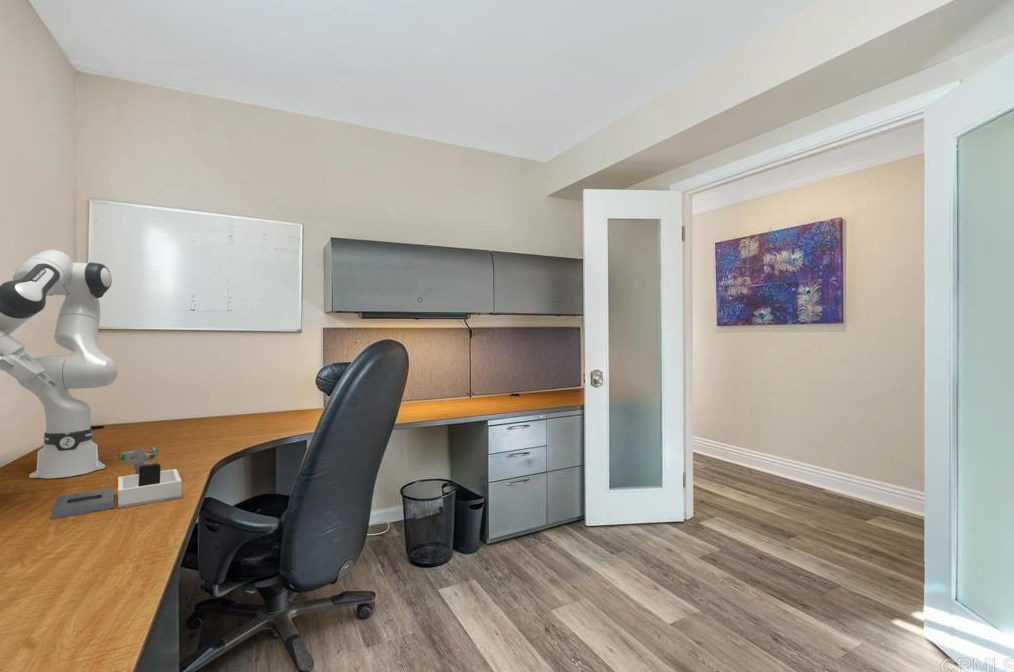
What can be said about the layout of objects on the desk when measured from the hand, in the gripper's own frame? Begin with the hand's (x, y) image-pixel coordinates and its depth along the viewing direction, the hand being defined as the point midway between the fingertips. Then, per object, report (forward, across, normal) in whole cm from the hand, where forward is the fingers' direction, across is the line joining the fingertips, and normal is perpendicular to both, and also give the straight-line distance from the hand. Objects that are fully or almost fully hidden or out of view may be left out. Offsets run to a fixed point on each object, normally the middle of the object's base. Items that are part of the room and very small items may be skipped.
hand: (52, 388), depth 135 cm
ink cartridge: (+37, -10, +7) cm, 39 cm away
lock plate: (+27, -11, +17) cm, 34 cm away
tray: (+37, -11, +7) cm, 40 cm away
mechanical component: (+36, +7, +9) cm, 38 cm away
